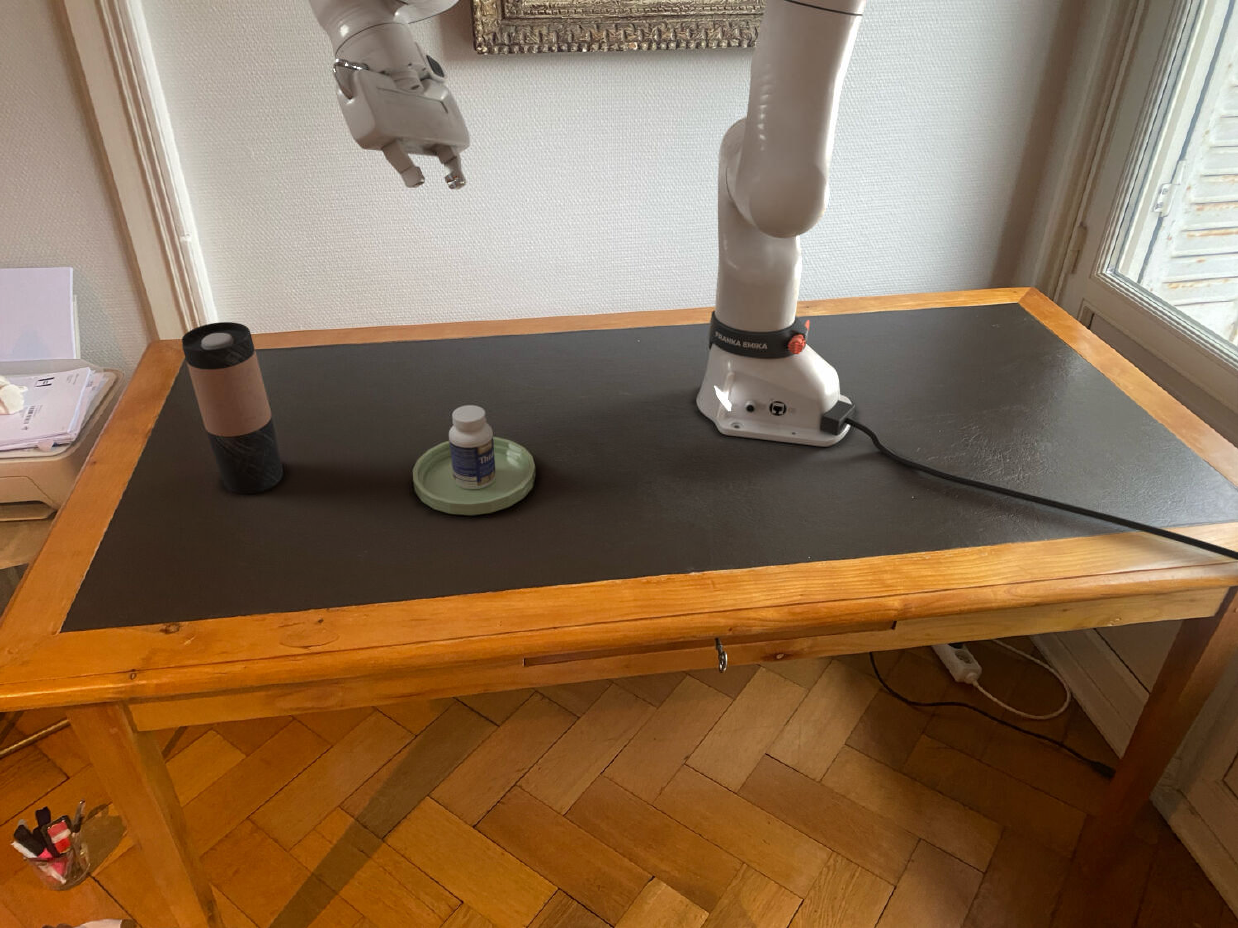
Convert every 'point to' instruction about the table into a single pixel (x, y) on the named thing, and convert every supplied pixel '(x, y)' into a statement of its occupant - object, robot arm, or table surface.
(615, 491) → the table surface
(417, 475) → the dish
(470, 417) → the pill bottle
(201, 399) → the travel mug
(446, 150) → the robot arm
